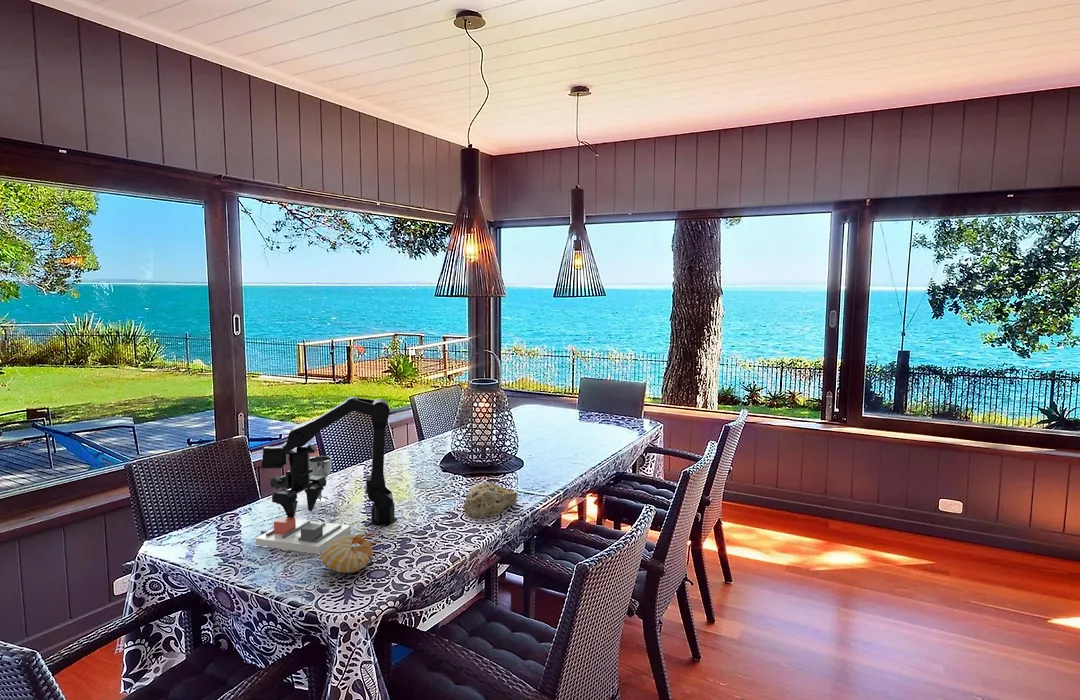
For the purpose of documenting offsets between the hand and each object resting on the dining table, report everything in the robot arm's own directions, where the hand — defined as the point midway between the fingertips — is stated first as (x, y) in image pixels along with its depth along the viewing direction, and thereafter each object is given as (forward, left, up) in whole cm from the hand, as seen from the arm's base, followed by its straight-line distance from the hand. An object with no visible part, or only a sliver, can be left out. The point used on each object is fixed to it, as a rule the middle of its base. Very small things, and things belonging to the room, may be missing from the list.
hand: (301, 516), depth 184 cm
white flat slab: (-3, +6, -5) cm, 8 cm away
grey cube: (-11, +10, -2) cm, 15 cm away
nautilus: (-30, +16, -5) cm, 34 cm away
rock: (-50, -34, -5) cm, 61 cm away
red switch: (0, +8, -2) cm, 8 cm away
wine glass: (+11, -25, -5) cm, 28 cm away
